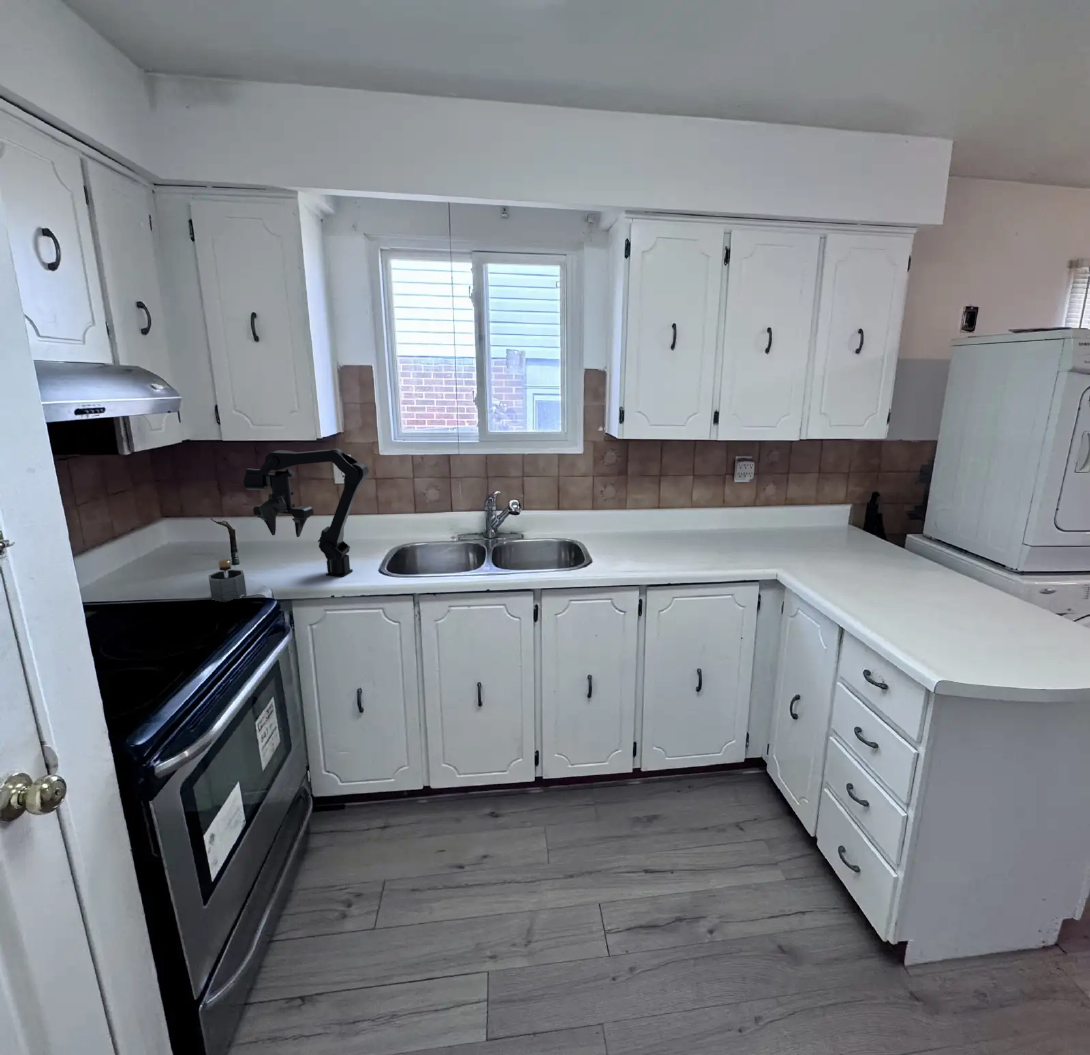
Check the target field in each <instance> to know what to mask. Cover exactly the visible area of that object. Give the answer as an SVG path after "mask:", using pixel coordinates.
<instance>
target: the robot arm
mask: <svg viewBox="0 0 1090 1055" xmlns="http://www.w3.org/2000/svg"><path fill="white" fill-rule="evenodd" d="M330 462H331V463H332V464H334V465H335V467H336V468H337V469H338V470H339V471H340V472H342V473H343V474H344V478H343V490H342V493H341V495H340V498H339V501H338V503H337V507H336V510H335V512H334V515H333V517H332V521H331V523H330V526H326V527H325V528H324V529H322V530H321V532H320V537H319V539H317V542H318V548H319V549H320V551H321V552H322V553H323V555H324V556H325V558H326V569H327V573H325V576H330V577H338V578H339V577H340V578H343V577H345V576H347V575H348V574H350V573H351V572H353V571H354V570H353V568H352V569H351V566H350V555H349V554H348V553H349V552H350V550H351V549H350V548H351V547H350V545H348V544H347V543H346V542H345V541H344V536H345V534H344V533H345V531H344V530H345V525H346V522H347V520H348V517H349V514H350V513H351V512H350V511H351V510H352V506H353V504H354V501H355V498H356V496H357V493H358V491H359V489H360V488H361V486H362V485H363V483H364V482H365V481H366V479H367V477H368V475H369V473H370V472H369V471H370V469H369V467H368V465H367V464H366V463H364V462H362V461H358V460H357V459H356V458H354V457H352V456H350V455H348V454H347V453H345V452H344V451H343V450H342V449H341V448H338V447H336V448H333V449H331V448H330V449H323V450H322V449H321V450H311V451H299V452H298V451H293V450H284V449H283V450H281V449H279V450H275V451H271V452H269V453H267V454H266V455H265V457H264V463H263V465H262V466H261V468H246V469H245V474H244V476H243V486H244V488H245V489H246V490H248V491H249V490H250V491H251V490H253V491H254V490H255V491H258V490H259V491H263V490H264V491H266V490H268V488H269V487H270V493H268V500H266V501H264V502H263V503H262V504H257V505H255V506H253V509H252V514H253V516H256V517H257V518H258V519H261V520H263V521H264V523H265V525H266V527H267V528H268V530H269V532H270V534H271V535H272V536H275V535H276V531H277V516H278V514H285V515H291V516H292V518H291V520H292V521H293V522H294V528H295V536H296V538H300V537H301V534H302V532H303V528H304V526H305V524H306V521H307V520H308V518H310V517H312V516H314V508H313V507H312V506H307V505H300V506H298V507H295V503H293V501H292V496H294V494H295V493H294V491H291V482H290V478H291V477H293V476H296V474H297V473H296V472H294V471H293V470H292V469H291V468H289V467H293V466H297V465H308V464H317V463H318V464H319V463H330ZM286 468H287V469H286ZM282 469H285V470H282ZM274 471H275V472H274ZM272 472H273V473H272Z"/></svg>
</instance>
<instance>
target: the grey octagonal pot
mask: <svg viewBox="0 0 1090 1055" xmlns="http://www.w3.org/2000/svg"><path fill="white" fill-rule="evenodd" d="M228 577H229V578H228V579H225V577H224V570H219V571H216V572H214V573H211V574H209V575H208V582H209V589H210V598H211V600H212V599H214V600H215V601H219V602H223V603H225V602H226V603H229V602H228V601H231V600H233V599H237V598H240V597H244V598H246V596H247V587H246V579H245V573H244V570H242V569H241V570H240V569H229V570H228ZM223 603H222V604H223Z"/></svg>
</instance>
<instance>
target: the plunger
mask: <svg viewBox="0 0 1090 1055" xmlns="http://www.w3.org/2000/svg"><path fill="white" fill-rule="evenodd" d="M217 564H218V568H219V571H224V577H225V579H228V578H229V577H228V570H232V565H231V559H221V560H219V561H218V563H217Z"/></svg>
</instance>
